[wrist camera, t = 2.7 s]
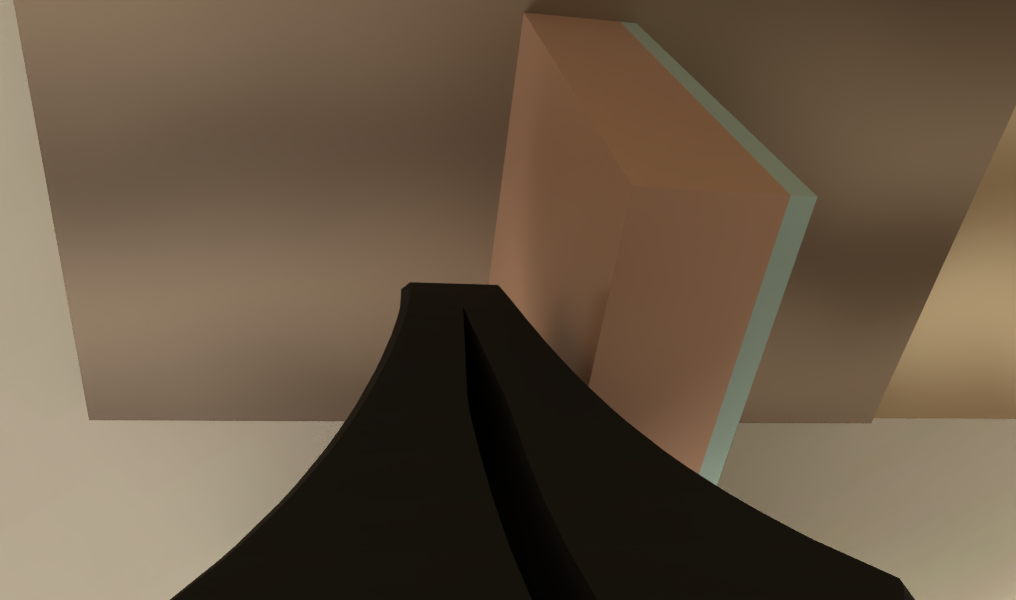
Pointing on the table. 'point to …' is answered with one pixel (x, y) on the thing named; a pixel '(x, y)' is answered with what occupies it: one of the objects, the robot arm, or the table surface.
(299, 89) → the board
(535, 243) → the tile
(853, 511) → the table surface
